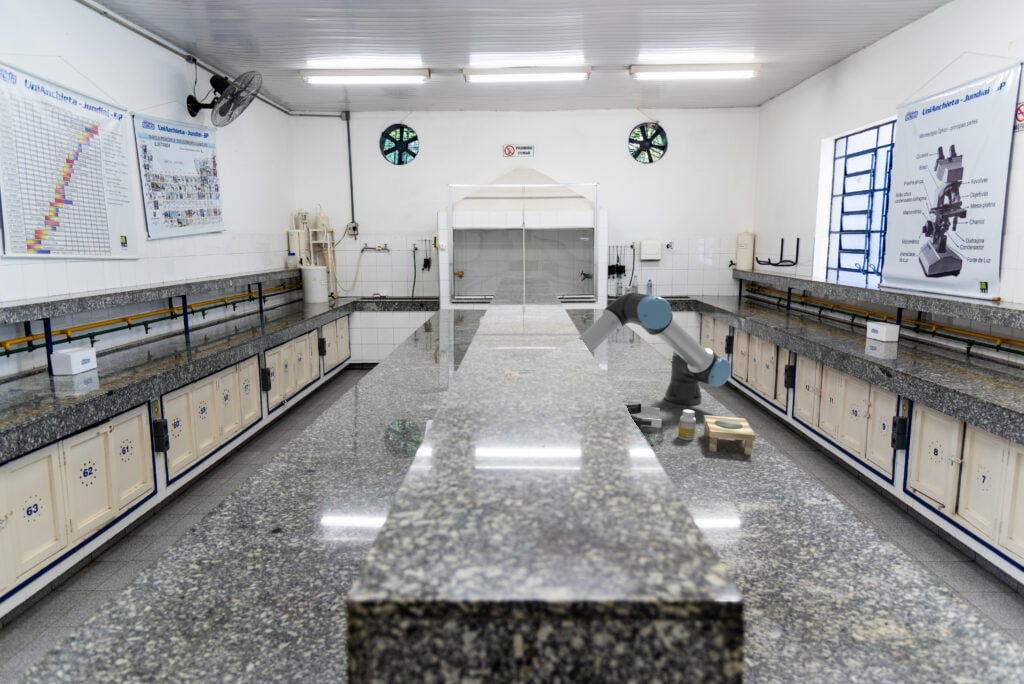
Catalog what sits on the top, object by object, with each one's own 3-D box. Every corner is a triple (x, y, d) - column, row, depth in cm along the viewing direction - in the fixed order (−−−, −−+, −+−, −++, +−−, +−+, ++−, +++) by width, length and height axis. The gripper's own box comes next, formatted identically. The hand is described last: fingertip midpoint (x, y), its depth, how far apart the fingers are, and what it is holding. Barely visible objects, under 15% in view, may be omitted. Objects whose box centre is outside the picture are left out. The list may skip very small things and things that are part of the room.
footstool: (702, 433, 220) (704, 414, 218) (743, 437, 217) (745, 418, 216) (708, 451, 202) (710, 430, 201) (753, 455, 200) (755, 434, 198)
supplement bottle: (682, 434, 219) (684, 407, 217) (696, 437, 215) (699, 411, 213) (675, 437, 215) (678, 410, 213) (690, 441, 211) (693, 414, 209)
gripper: (600, 412, 232) (657, 417, 228) (596, 433, 208) (661, 439, 204) (601, 392, 230) (659, 397, 227) (598, 411, 206) (663, 417, 202)
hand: (660, 417), depth 215 cm, fingers open, 13 cm apart
